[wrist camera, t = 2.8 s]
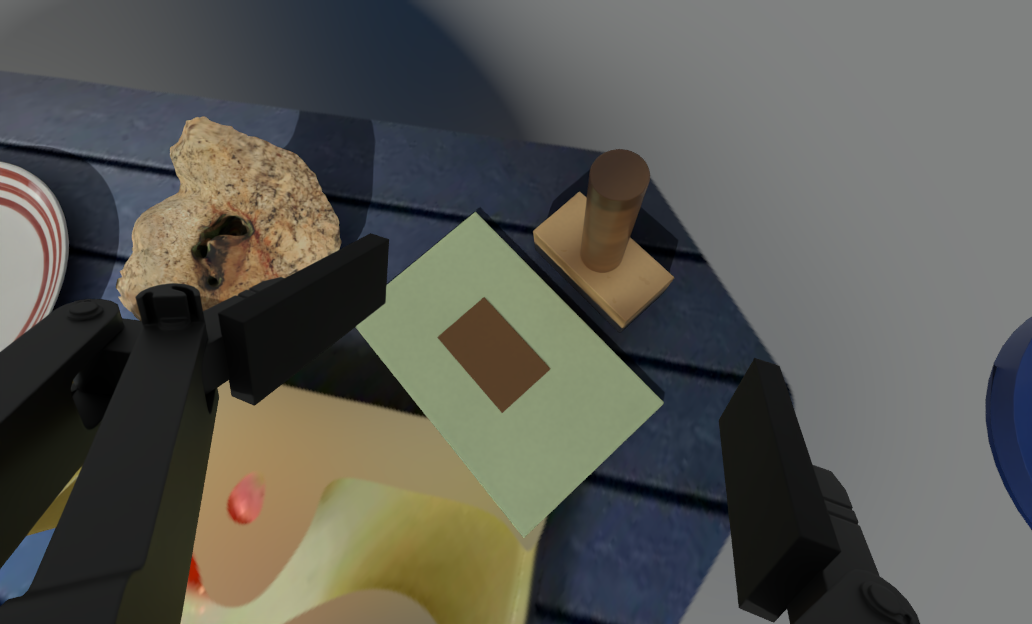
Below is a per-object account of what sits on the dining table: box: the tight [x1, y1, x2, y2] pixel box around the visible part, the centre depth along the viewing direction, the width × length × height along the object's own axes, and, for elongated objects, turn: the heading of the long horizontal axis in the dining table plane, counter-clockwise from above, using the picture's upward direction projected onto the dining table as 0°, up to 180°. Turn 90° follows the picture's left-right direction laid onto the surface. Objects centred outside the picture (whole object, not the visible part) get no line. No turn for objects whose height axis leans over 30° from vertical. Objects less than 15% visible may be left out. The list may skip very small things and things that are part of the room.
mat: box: [356, 212, 664, 537], centre depth 36 cm, size 22×14×1 cm, turn 42°
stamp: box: [533, 149, 674, 333], centre depth 31 cm, size 10×5×14 cm, turn 42°
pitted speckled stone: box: [116, 117, 341, 321], centre depth 39 cm, size 18×14×8 cm
